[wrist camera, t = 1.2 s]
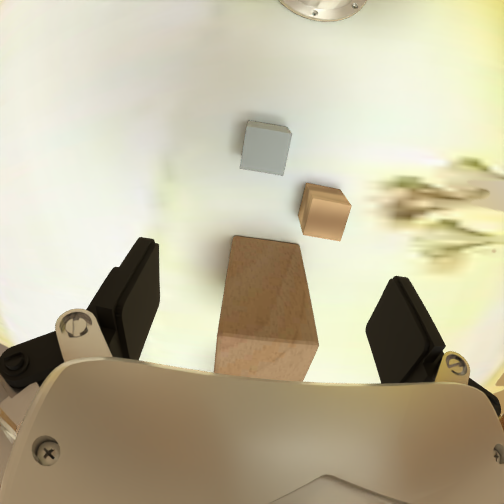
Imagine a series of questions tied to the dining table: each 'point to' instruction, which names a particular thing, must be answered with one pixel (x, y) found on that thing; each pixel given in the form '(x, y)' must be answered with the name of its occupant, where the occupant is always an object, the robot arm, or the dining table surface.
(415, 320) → the robot arm
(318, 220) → the oak block
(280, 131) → the slate block
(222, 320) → the wooden block
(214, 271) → the dining table surface
